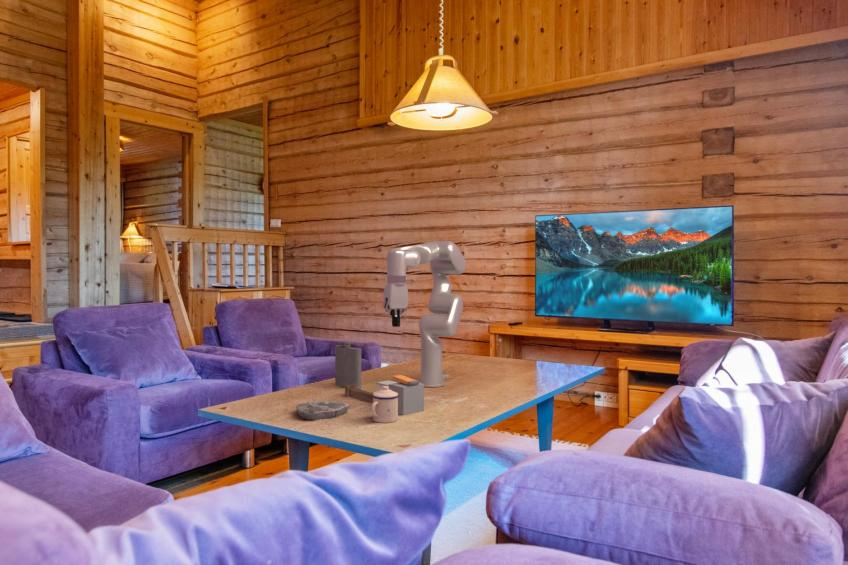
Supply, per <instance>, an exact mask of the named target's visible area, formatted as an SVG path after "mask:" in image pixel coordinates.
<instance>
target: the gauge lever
mask: <svg viewBox="0 0 848 565" xmlns="http://www.w3.org/2000/svg"><path fill="white" fill-rule="evenodd" d="M392 380H393V381H395V382H398V383H399V382H401V383H404V384H407V385H408V386H413V385H418V384H419V381H420V380H418V379H414V378H410V377H408V376H406V375H403V374H397V375H393V376H392Z"/></svg>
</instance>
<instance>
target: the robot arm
mask: <svg viewBox="0 0 848 565" xmlns="http://www.w3.org/2000/svg"><path fill="white" fill-rule="evenodd" d="M385 261H386V283H385V284H384V289H383V298H382V308H384V311H385V313H388V314H390V317H391V326H392V327H395V328H398V327H399V328H400V327H401V317H402V316H403V314H404V313H405V312H407V311H408V307H409V291H408V290H409V289H408V285H407V281H408V278H407V269H413V268H417V267H418V266H419V265H422V264H428V263H429V268H430V271H431V276H432V279H433V286H432V290H431V294H430V296H429V301H428V304H427V305H428V306H427V308H428V311H429V312H430V313H429V314H428V313H427V314H424V315H422V316H421V317H420V319H419V322H418V327H419V333H420V348H421V349H420V380H418V381H419V383H422V384H424V388H440V387H441V388H442V387H443V386H446V381H444V380H445V379H446V380H447V379H449V378H450V374H448V373H446V374H444V373H443V343H442V342H441V339H440V338H439V337H445V338H447V337H449V338H451V337H454V336H455V335H456V334H457V333H458V329H459V325H460V322H461V318H462V315H463V311H464V310H463V309H464V301H463V300H464V299H463V297H462V296H461V295H459V294H456V293H452V290H453V286H452V283H451V281H450V279H449V278H448V276H447V275H462V274H463V273H465V271H466V268H467V262H466V259H465V257H464V255H463V254H462V252H461V250H460V249H459V247H458V246H457V245H456V243H454V242H453V241H451V240H431V241H428V242H425V243H420V244H414V245H409V246H403V247H402V246H401V247H396V248H392V249H390V250H388V251H387V254H386V257H385Z"/></svg>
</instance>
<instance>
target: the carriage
mask: <svg viewBox="0 0 848 565" xmlns="http://www.w3.org/2000/svg"><path fill="white" fill-rule="evenodd" d="M393 383H399V381H394V380H393V381H392V380H385V381H384V380H383V381H377V382H376V392H377V391H379V390H381V389H383V386H388V389H389V384H393Z"/></svg>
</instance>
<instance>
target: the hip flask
mask: <svg viewBox="0 0 848 565" xmlns="http://www.w3.org/2000/svg"><path fill="white" fill-rule="evenodd" d="M351 344H352V341H350V340H349V341H348V340H347V341H346V340H345V341H343V342H342V345H341V344H337V345H334V346H335V347H334V348H335V350H334V351H335V352H334V353H335V355H334V357H335V358H334V361H335V363H334V364H335V365H334V366H335V367H334V368H335V369H334V379H335V380H334V381H335V382H334V385H335V386H337V387H340V388H343V389H345V385H349V384H358V389H360V390H362V348H361V347H353V346H352V345H351Z"/></svg>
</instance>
